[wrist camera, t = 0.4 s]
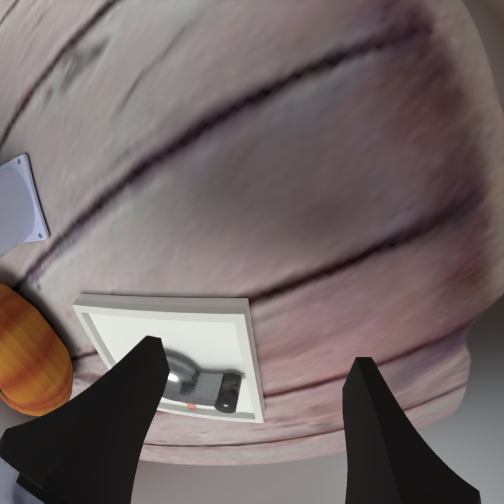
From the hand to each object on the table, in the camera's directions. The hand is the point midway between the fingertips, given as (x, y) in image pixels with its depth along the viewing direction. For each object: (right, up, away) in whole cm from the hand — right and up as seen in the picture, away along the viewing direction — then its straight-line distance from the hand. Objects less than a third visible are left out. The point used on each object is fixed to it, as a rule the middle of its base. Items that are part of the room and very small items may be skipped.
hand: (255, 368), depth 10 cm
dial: (-6, -7, +14) cm, 17 cm away
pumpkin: (-30, -6, +19) cm, 36 cm away
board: (-7, -6, +16) cm, 18 cm away
